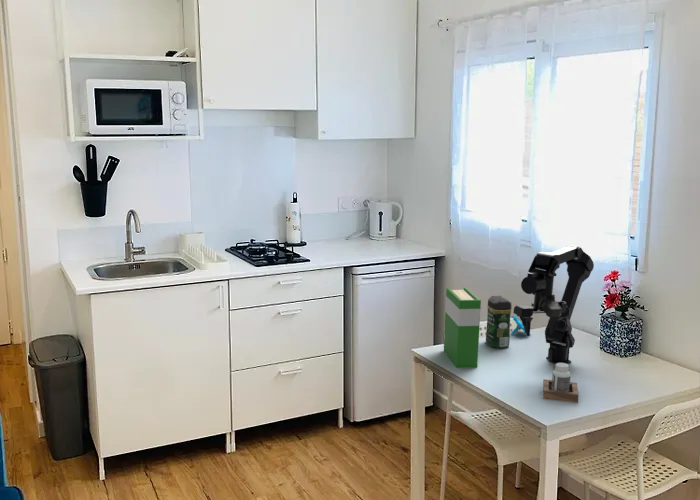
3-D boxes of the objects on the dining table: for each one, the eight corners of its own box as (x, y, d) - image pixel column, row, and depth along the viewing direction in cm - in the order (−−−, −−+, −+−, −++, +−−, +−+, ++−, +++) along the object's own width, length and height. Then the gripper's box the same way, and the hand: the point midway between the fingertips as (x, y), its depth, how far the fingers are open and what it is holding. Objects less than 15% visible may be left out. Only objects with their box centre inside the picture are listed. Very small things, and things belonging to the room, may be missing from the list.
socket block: (542, 387, 234) (543, 379, 233) (576, 391, 231) (577, 382, 231) (542, 400, 224) (543, 391, 223) (577, 404, 221) (578, 394, 221)
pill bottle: (572, 394, 228) (574, 365, 226) (563, 399, 224) (565, 369, 222) (556, 389, 231) (558, 360, 229) (547, 394, 228) (550, 364, 226)
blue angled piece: (531, 335, 281) (514, 316, 282) (520, 345, 282) (502, 325, 283) (532, 331, 291) (515, 312, 293) (520, 340, 293) (504, 321, 294)
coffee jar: (482, 341, 278) (485, 294, 275) (502, 340, 280) (504, 293, 276) (491, 349, 269) (494, 301, 265) (512, 348, 270) (515, 300, 267)
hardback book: (443, 350, 266) (446, 287, 262) (463, 350, 267) (466, 287, 263) (456, 367, 249) (459, 300, 244) (477, 367, 250) (480, 300, 245)
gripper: (532, 296, 232) (528, 343, 234) (582, 294, 238) (577, 340, 240) (514, 288, 242) (510, 333, 245) (562, 287, 248) (558, 331, 251)
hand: (539, 335), depth 245 cm, fingers open, 9 cm apart
